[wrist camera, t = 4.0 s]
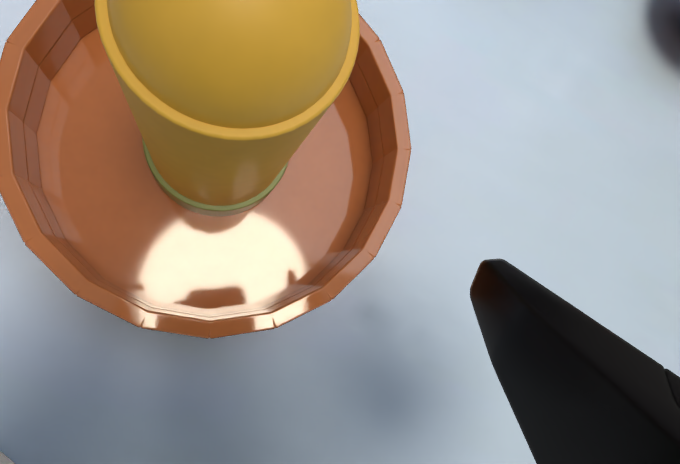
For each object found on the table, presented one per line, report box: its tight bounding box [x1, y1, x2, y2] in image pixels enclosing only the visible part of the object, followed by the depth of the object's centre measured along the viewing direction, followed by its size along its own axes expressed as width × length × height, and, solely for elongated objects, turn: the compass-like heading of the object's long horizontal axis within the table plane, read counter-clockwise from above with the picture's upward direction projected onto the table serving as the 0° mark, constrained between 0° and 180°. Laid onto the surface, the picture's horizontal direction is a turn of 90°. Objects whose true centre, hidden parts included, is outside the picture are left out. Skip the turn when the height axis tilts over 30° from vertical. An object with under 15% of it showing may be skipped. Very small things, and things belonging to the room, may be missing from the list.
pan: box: [0, 0, 411, 339], centre depth 20 cm, size 14×14×3 cm
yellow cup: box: [94, 0, 360, 216], centre depth 14 cm, size 5×5×14 cm
